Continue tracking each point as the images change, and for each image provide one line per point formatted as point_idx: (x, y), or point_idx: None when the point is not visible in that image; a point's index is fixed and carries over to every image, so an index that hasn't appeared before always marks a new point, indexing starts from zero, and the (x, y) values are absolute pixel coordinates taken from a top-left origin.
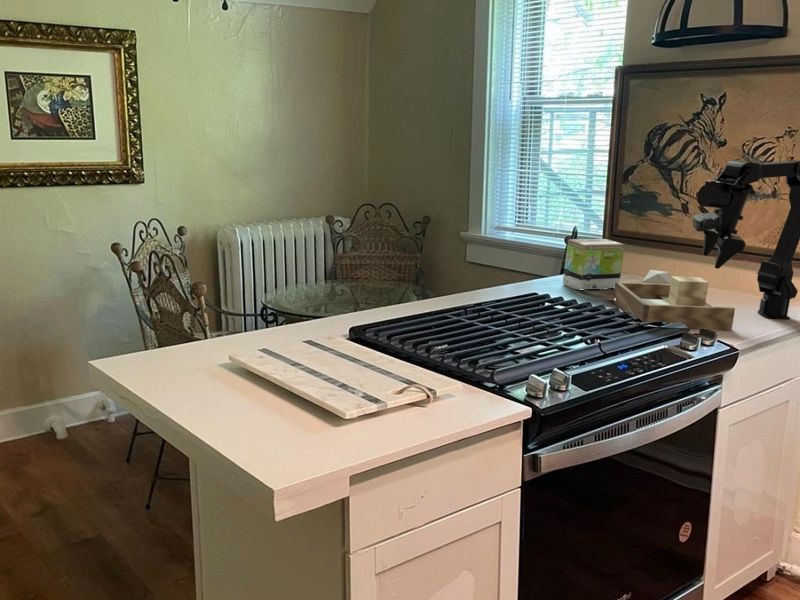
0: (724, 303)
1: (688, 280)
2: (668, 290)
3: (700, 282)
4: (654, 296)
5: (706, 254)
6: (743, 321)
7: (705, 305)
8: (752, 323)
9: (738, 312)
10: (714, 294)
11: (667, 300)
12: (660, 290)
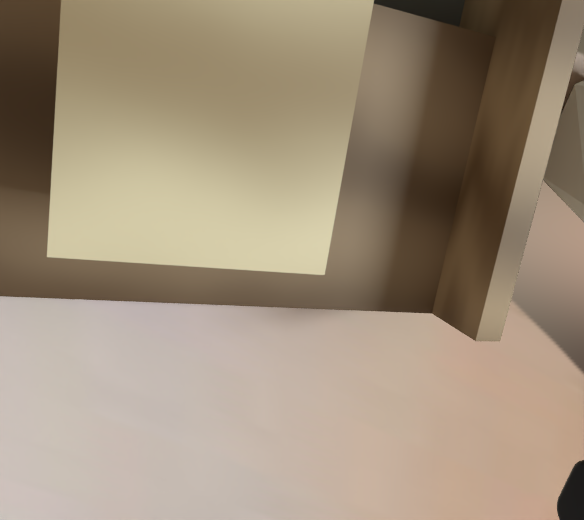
0: (432, 477)
1: (143, 4)
2: (499, 121)
3: (55, 145)
4: (490, 20)
5: (575, 512)
6: (53, 447)
7: None
8: (5, 485)
9: (262, 488)
10: None
11: None
12: (513, 57)
